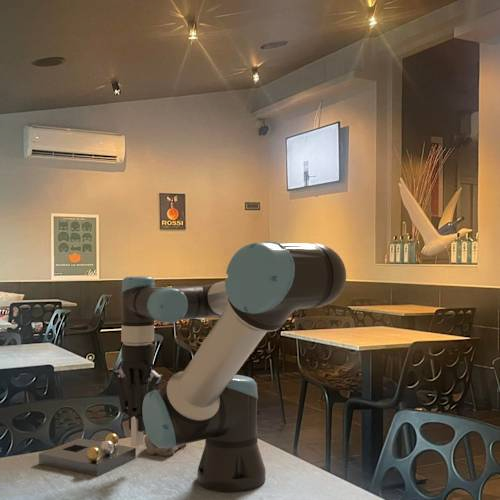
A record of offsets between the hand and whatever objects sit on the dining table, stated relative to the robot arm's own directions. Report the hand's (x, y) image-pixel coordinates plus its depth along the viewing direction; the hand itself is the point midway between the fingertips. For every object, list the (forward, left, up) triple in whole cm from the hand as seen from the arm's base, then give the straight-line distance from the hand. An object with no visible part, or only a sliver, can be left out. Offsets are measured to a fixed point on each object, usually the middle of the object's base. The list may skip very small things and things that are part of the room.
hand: (137, 444), depth 142 cm
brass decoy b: (+12, -5, -2) cm, 13 cm away
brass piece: (+8, +5, -2) cm, 10 cm away
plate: (+15, 0, -6) cm, 16 cm away
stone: (+3, -16, -6) cm, 18 cm away
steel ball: (+9, 0, -2) cm, 9 cm away
